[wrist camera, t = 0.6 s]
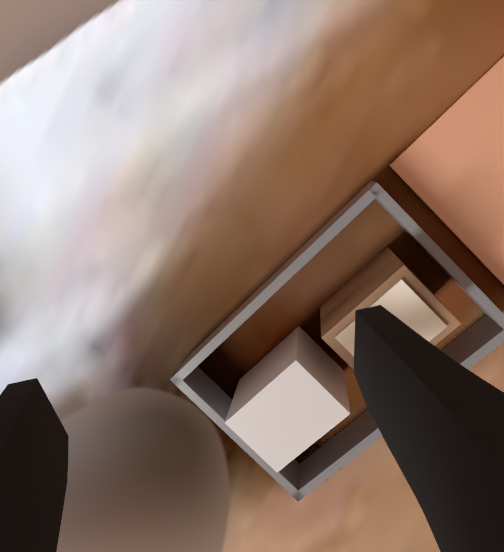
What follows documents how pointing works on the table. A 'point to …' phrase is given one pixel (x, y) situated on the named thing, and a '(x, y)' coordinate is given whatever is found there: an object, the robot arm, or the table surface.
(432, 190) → the tile
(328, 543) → the table surface
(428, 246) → the bin
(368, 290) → the walnut box
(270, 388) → the white box
